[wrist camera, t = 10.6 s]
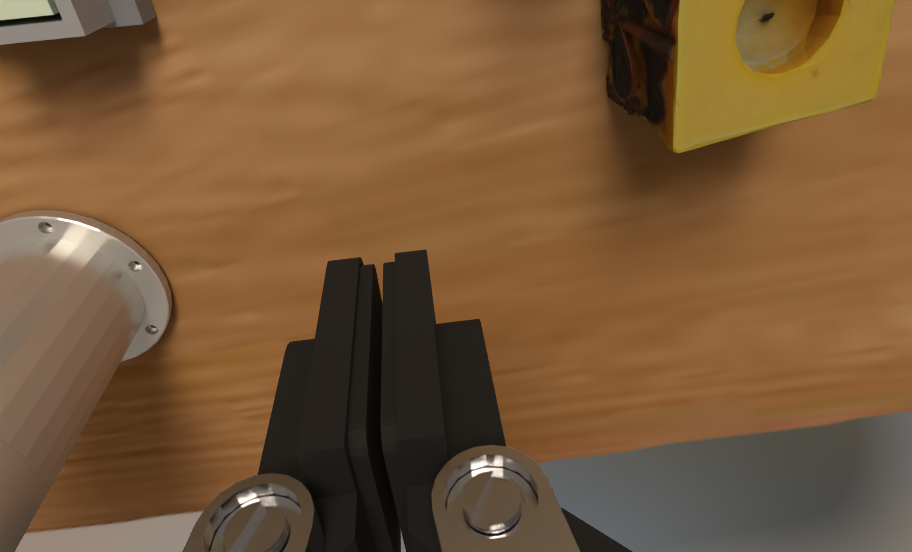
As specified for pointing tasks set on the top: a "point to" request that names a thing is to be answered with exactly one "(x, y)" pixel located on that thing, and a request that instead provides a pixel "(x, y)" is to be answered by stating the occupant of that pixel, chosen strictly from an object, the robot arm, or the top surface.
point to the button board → (76, 20)
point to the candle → (741, 62)
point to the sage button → (26, 8)
